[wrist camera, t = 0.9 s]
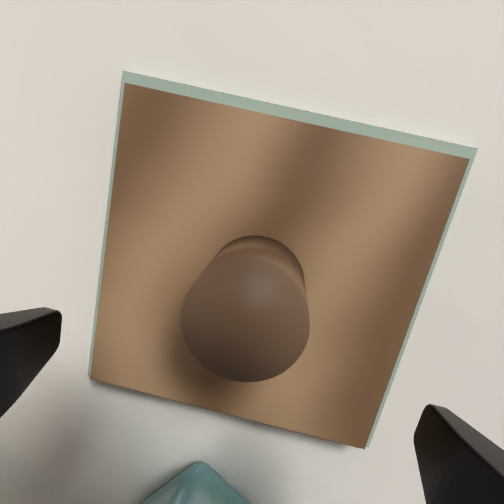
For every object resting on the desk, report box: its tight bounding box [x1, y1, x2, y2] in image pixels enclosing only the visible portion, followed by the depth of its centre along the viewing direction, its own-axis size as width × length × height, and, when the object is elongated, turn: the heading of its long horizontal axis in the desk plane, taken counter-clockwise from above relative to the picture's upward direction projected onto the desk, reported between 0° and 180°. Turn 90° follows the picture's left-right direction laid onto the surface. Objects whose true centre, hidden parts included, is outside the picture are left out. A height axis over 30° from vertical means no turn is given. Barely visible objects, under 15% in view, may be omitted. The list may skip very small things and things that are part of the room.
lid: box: [90, 83, 470, 449], centre depth 14 cm, size 13×13×5 cm
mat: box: [88, 71, 477, 447], centre depth 16 cm, size 14×14×1 cm
